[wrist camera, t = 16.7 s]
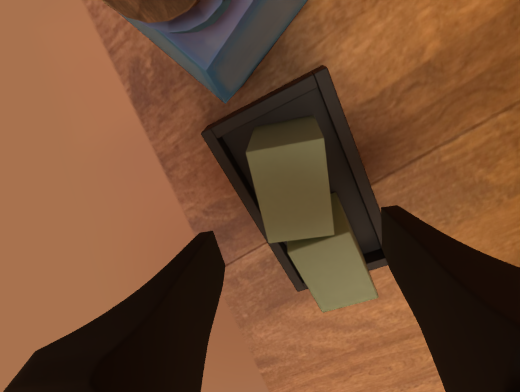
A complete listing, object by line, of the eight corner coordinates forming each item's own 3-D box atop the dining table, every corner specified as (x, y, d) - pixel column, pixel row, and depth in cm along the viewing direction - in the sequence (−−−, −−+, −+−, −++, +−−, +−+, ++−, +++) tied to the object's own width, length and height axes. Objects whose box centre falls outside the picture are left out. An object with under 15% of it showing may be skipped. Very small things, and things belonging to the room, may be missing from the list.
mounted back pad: (315, 264, 24) (322, 313, 20) (286, 210, 22) (287, 252, 17) (361, 249, 23) (379, 298, 18) (335, 191, 20) (349, 231, 16)
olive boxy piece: (271, 202, 21) (268, 243, 17) (254, 126, 19) (245, 152, 14) (323, 195, 21) (335, 235, 16) (314, 114, 18) (324, 137, 14)
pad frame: (296, 277, 26) (297, 292, 24) (206, 126, 19) (200, 133, 18) (391, 247, 23) (398, 262, 22) (323, 64, 17) (326, 66, 15)
